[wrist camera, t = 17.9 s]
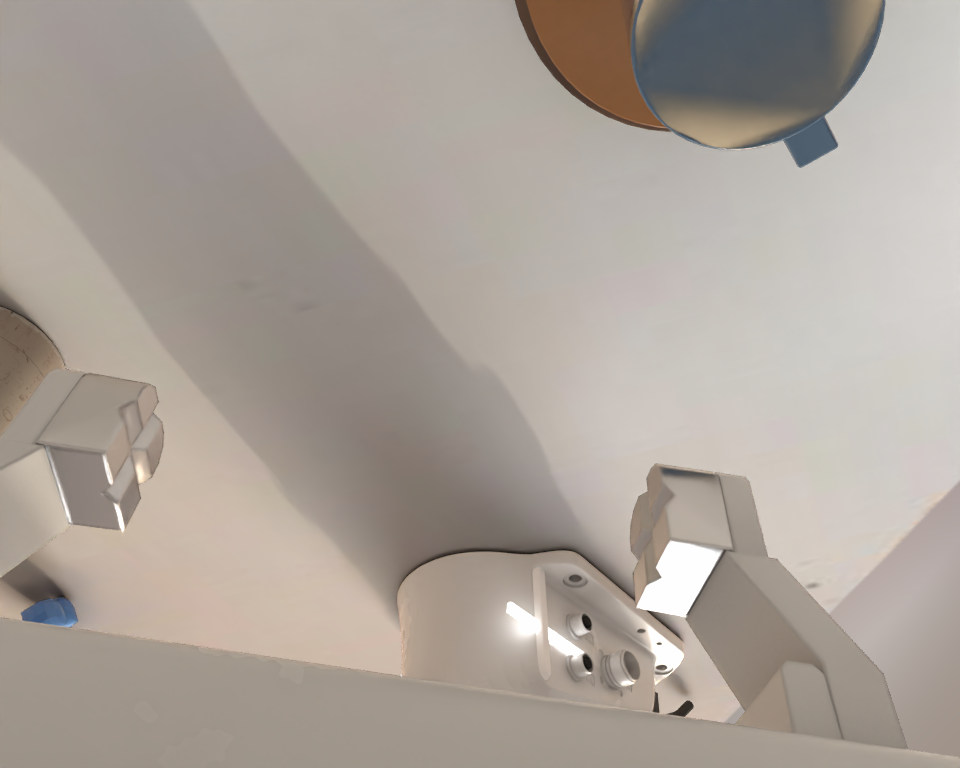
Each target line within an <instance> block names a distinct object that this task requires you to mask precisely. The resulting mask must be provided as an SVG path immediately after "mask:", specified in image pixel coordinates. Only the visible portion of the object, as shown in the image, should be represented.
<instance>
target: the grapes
mask: <svg viewBox="0 0 960 768" xmlns="http://www.w3.org/2000/svg"><path fill="white" fill-rule="evenodd" d="M21 615H22V620H23V621H29V622H36V623H43V624H50V625H57V626H64V627H71V626H72V625H74V624H75V623H76V622H78V619H77V615H76V612H75V609H74V607H73V605H72V604H71V602H70V601H69V600H68V599H66V598H63V597H60V598H56V599H47V600H43V601H40V602H37V603H36V604H34V605H32V606H31V607H29V608H27V609H26V610H24V611H23V612H21ZM71 628H72V627H71Z"/></svg>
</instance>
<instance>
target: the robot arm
mask: <svg viewBox="0 0 960 768" xmlns="http://www.w3.org/2000/svg"><path fill="white" fill-rule="evenodd" d="M158 402H159V401H158V396H157V392H156V387H155V386H153V385H151V384H148V383H142V382H137V381H131V380H126V379H120V378H115V377H110V376H104V375H99V374H93V373H84V372H79V371H73V370H68V369H63V368H56V369H54V370H52V371H50V372H49V373H48V374H47V375H46V376H45V377H44V379H43V380H42V381H41V383H40V384H39V385H38V387H37V388H36V389H35V391H34V392H33V393H32V395H31V396H30V397H29V399H28V400H27V401H26V403H25V404H24V405H23V407H22V408H21V409H20V411H19V412H18V413H17V415H16V416H15V417H14V419H13V420H12V421H11V423H10V424H9V425H8V427H7V428H6V429H5V431H4V432H3V433H2V434H1V436H0V578H1V577H2V576H4V575H5V574H6V573H8V572H9V571H11V570H12V569H13V568H15V567H16V566H17V565H19V564H20V563H21V562H23V561H24V560H26V559H27V558H28V557H30V556H31V555H32V554H34V553H35V552H36V551H38V550H39V549H41V548H42V547H43V546H45V545H46V544H47V543H49V542H50V541H51V540H53V539H54V538H56V537H57V536H58V535H60V534H61V533H62V532H64V531H65V530H66V529H68V528H69V527H70V525H69V524H73V525H81V526H89V527H97V528H105V529H113V530H121V531H124V530H125V528H126V526H127V524H128V522H129V520H130V518H131V517H132V515H133V513H134V511H135V509H136V507H137V505H138V503H139V501H140V499H141V496H140V491H139V486H138V485H140V484H141V483H143V482H145V481H146V480H148V479H150V478H151V477H152V476H153V474H154V472H155V470H156V468H157V466H158V464H159V461H160V457H161V453H162V449H163V442H164V430H163V424H162V421H161V420H160V419H159V418H158V417H157V416H156V415H155V414H154V413H153V411H154V410H155V408H156V406H157V404H158ZM646 479H647V490H648V491H647V492H645V493H644V494H642V495H640V496H639V497H638V500H637V502H636V505H635V507H634V510H633V515H632V520H631V526H630V545H631V552H632V553H633V554H634V555H635V557H636V558H637V559H638V560H639V561H638V563H637V565H636V567H635V570H634V572H633V582H634V593H635V601H634V600H633V599H632V598H631V597H629V596H628V595H627V594H626V593H625V592H623V591H622V590H621V589H620V588H619V587H617V586H616V585H615V584H614V583H613V582H612V581H610V580H609V579H608V578H607V577H606V576H604V575H603V574H602V573H601V572H600V571H598V570H597V569H596V568H595V567H594V566H592V565H591V564H590V563H589V562H588V561H586V560H585V559H584V558H583V557H582V556H580V555H579V554H577V553H575V552H572V551H564V550H561V551H549V552H542V553H536V554H513V553H503V552H467V553H459V554H453V555H449V556H445V557H441V558H438V559H435V560H433V561H430V562H428V563H426V564H424V565H422V566H420V567H419V568H417V569H416V570H414V571H413V572H412V573H411V574H409V575H408V576H407V577H406V579H405V580H404V581H403V583H402V584H401V586H400V588H399V591H398V594H397V607H398V612H399V619H400V628H401V644H402V670H401V676H399V675H392V674H385V673H378V672H372V671H365V670H358V669H351V668H344V667H337V666H331V665H324V664H317V663H310V662H303V661H297V660H290V659H283V658H276V657H269V656H262V655H256V654H249V653H242V652H235V651H228V650H221V649H215V648H208V647H201V646H194V645H187V644H180V643H173V642H167V641H160V640H153V639H146V638H139V637H132V636H125V635H119V634H112V633H105V632H98V631H91V630H84V629H77V628H71V627H64V626H57V625H50V624H43V623H36V622H29V621H23V620H16V619H9V618H2V617H0V768H960V757H956V756H949V755H942V754H935V753H929V752H922V751H915V750H908V747H907V744H906V741H905V738H904V735H903V732H902V729H901V726H900V723H899V719H898V716H897V714H896V710H895V707H894V704H893V701H892V698H891V695H890V692H889V689H888V686H887V683H886V680H885V677H884V674H883V673H882V671H881V670H880V669H879V668H878V667H877V666H876V665H875V664H874V663H873V662H872V661H871V660H870V658H869V657H868V656H867V655H866V654H865V653H864V652H863V651H862V650H861V649H860V648H859V647H858V646H857V645H856V643H854V642H853V640H852V639H851V638H850V637H849V636H848V635H847V634H846V633H845V632H844V630H843V629H841V627H840V626H839V625H838V624H837V623H836V622H835V621H834V620H833V619H832V618H831V616H830V615H829V614H828V613H827V612H826V611H825V610H824V609H823V608H822V607H821V606H820V605H819V604H818V602H817V601H816V600H815V599H814V598H813V597H812V596H811V595H810V594H809V593H808V592H807V591H806V590H805V588H804V587H803V586H802V585H801V584H800V583H799V582H798V581H797V580H796V579H795V578H794V577H793V576H792V574H791V573H790V572H789V571H788V570H787V569H786V568H785V567H784V566H783V565H782V564H781V563H780V562H779V561H778V559H774V558H769V557H768V554H767V550H766V546H765V542H764V538H763V534H762V530H761V526H760V522H759V518H758V514H757V510H756V506H755V502H754V498H753V494H752V490H751V485H750V482H749V481H748V479H747V478H746V477H744V476H737V475H730V474H724V473H717V472H716V473H713V472H710V471H703V470H697V469H690V468H683V467H676V466H670V465H663V464H655V465H654V466H653V467H652V468H651V470H650V472H649V474H648V476H647V478H646ZM646 610H649V611H655V612H661V613H666V614H672V615H678V616H683V617H687V618H686V621H687V622H688V624H689V625H690V627H691V628H692V630H693V632H694V633H695V635H696V636H697V638H698V639H699V641H700V642H701V644H702V645H703V647H704V649H705V650H706V652H707V653H708V655H709V656H710V658H711V659H712V661H713V662H714V664H715V666H716V667H717V669H718V670H719V672H720V673H721V675H722V676H723V678H724V679H725V681H726V683H727V684H728V686H729V687H730V689H731V690H732V692H733V693H734V695H735V696H736V698H737V700H738V701H739V703H740V704H741V706H742V707H743V709H744V710H745V712H744V714H743V715H742V716H741V717H740V718H739V720H738V721H737V722H736V724H730V723H723V722H716V721H709V720H703V719H696V718H689V717H685V716H686V715H687V714H688V713H689V712H690V711H691V710H692V709H693V704H692V702H690V701H686V702H685V703H684V704H683V705H682V706H681V707H680V708H679V709H678V710H677V711H675V712H673V713H669V714H661V713H659V703H658V693H656V692H655V684H657V683H659V682H660V681H662V680H663V679H664V678H666V677H667V676H668V675H670V674H671V673H672V672H673V671H674V670H675V669H676V668H677V666H678V665H679V664H680V662H681V661H682V659H683V656H684V643H683V642H682V641H681V640H680V639H679V638H678V637H677V636H676V635H675V634H673V633H672V632H671V631H670V630H669V629H668V628H666V627H665V626H664V625H663V624H662V623H660V622H659V621H658V620H657V619H656V618H654V617H653V616H652V615H651V614H650V613H648V612H647V611H646Z"/></svg>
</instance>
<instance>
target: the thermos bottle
mask: <svg viewBox="0 0 960 768" xmlns="http://www.w3.org/2000/svg"><path fill="white" fill-rule="evenodd" d="M56 368H63V369H65V365H64V363H63V360H62V358H61V355H60V354H59V352H58V350H57V349H56V347H55V345H54V344H53V343H52V342H51V341H50V340H49V338H48V337H47V336H46V335H45V334H44V333H43V332H42V331H41V330H39V329H38V328H37V327H36V326H35V325H34V324H32V323H31V322H29V321H28V320H26V319H25V318H23V317H22V316H20V315H18V314H16V313H14V312H12V311H10V310H9V309H6V308H4V307H1V306H0V436H1V434H2V433H3V432H4V431H5V429H6V428H7V427H8V425H9V424H10V423H11V421H12V420H13V419H14V417H15V416H16V415H17V413H18V412H19V411H20V409H21V408H22V407H23V405H24V404H25V403H26V401H27V400H28V399H29V397H30V396H31V395H32V393H33V392H34V391H35V389H36V388H37V387H38V385H39V384H40V383H41V381H42V380H43V379H44V377H45V376H46V375H47V374H48V373H49V372H50V371H52V370H54V369H56Z"/></svg>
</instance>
